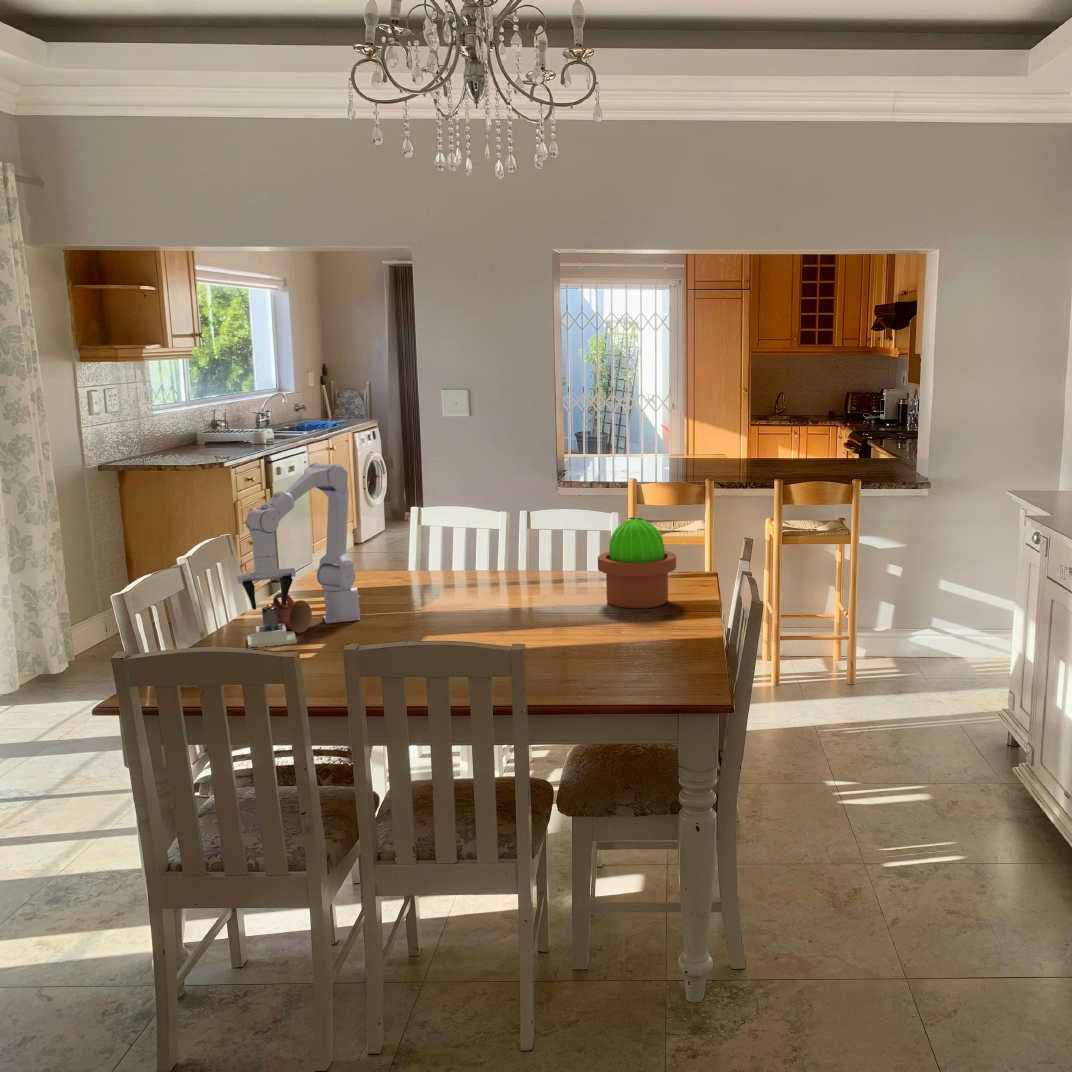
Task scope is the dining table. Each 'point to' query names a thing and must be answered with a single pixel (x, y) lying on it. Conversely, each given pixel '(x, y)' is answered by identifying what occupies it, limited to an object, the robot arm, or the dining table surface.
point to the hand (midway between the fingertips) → (269, 606)
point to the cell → (270, 618)
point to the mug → (293, 614)
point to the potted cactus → (636, 566)
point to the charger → (271, 637)
